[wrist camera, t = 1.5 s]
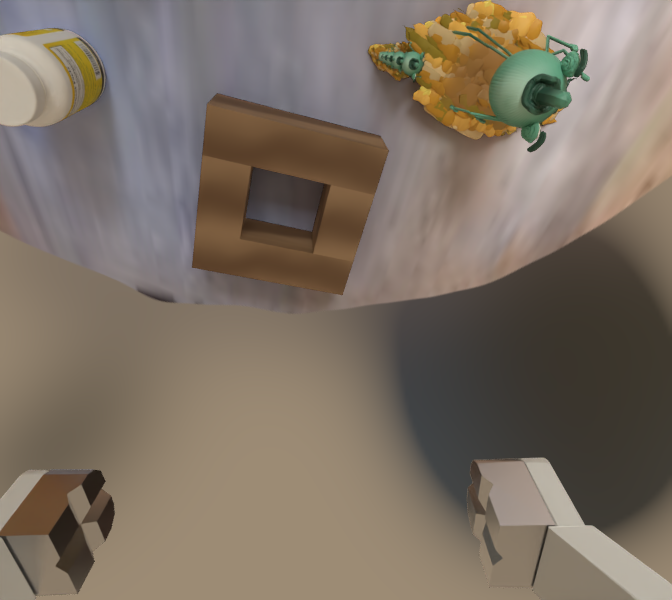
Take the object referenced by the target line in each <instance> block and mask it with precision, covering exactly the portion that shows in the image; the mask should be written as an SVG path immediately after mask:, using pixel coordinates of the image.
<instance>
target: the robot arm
mask: <svg viewBox="0 0 672 600" xmlns="http://www.w3.org/2000/svg"><path fill="white" fill-rule="evenodd" d="M470 475H471V478H472V481H473V484H471V485H470V486H469V487H468V492H467V508H468V516H469V520H470V525H471V529H472V532H473V534H474V536H476V537H477V538H478V539H479V540H480V541H481V546H480V552H479V556H480V559H481V562H482V565H483V569H484V572H485V575H486V579H487V582H488V585H489V587H508V588H511V587H512V588H533V591H534V593H535V594H536V595H537V596H538V597H539V598H540V599H541V600H672V584H671V583H669V582H668V581H667V580H665V579H664V578H663V577H661V576H660V575H659V574H657V573H656V572H655V571H653V570H652V569H650V568H649V567H648V566H646V565H645V564H644V563H642V562H641V561H640V560H638V559H637V558H635V557H634V556H633V555H631V554H630V553H629V552H628V551H626V550H625V549H624V548H622V547H621V546H620V545H618V544H617V543H615V542H614V541H613V540H611V539H610V538H609V537H607V536H606V535H605V534H603V533H602V532H601V531H599V530H598V529H597V528H595V527H594V526H585V525H584V523H583V521H582V519H581V517H580V516H579V514H578V512H577V510H576V509H575V507H574V505H573V503H572V502H571V500H570V498H569V497H568V495H567V493H566V491H565V489H564V487H563V486H562V484H561V482H560V480H559V479H558V477H557V475H556V473H555V472H554V470H553V468H552V466H551V465H550V463H549V461H548V460H546V459H545V458H523V459H518V458H517V459H516V458H515V459H489V460H488V459H487V460H473V461H472V463H471V468H470ZM105 482H106V481H105V479H104V477H103V475H102V472H101V471H100V470H61V469H60V470H58V469H56V470H55V469H54V470H53V469H52V470H28V471H26V472H25V473H23V474H21V475H20V476H19V478H18V479H17V480H16V481H15V482H14V484H13V485H12V486H11V487H10V488H9V490H8V491H7V492H6V493H5V494H4V496H3V497H2V498H1V499H0V600H35V599H36V596H43V595H44V596H45V595H66V594H78V592H79V591H80V589H81V587H82V585H83V583H84V581H85V579H86V577H87V575H88V573H89V572H90V570H91V568H92V566H93V564H94V562H95V561H94V556H93V551H94V550H95V549H97V548H98V547H99V546H100V545H101V544H103V543H104V542H105V541H106V539H107V537H108V534H109V532H110V530H111V528H112V523H113V519H114V515H115V511H114V502H113V500H112V497H111V495H110V494H108V493H107V492H105V491H104V490H103V489H102V487H103V485H104V483H105Z"/></svg>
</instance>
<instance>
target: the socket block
mask: <svg viewBox="0 0 672 600" xmlns="http://www.w3.org/2000/svg"><path fill="white" fill-rule="evenodd" d="M388 152H389V150H388V148H387V147H386V145H385V143H384V141H383V140H382V138H381V136H378V135H375V134H371V133H367V132H363V131H359V130H355V129H352V128H348V127H344V126H340V125H336V124H332V123H329V122H325V121H321V120H317V119H313V118H310V117H306V116H302V115H298V114H294V113H290V112H287V111H283V110H279V109H275V108H271V107H267V106H264V105H260V104H256V103H252V102H248V101H245V100H241V99H237V98H233V97H229V96H225V95H222V94H218V93H217V94H216V95H215V96H214V97H213V98H212V99H211V100H210V101H209V103H208V104H207V110H206V121H205V132H204V143H203V154H202V165H201V176H200V187H199V198H198V209H197V219H196V230H195V241H194V252H193V263H192V268H197V269H203V270H208V271H214V272H219V273H225V274H230V275H235V276H241V277H246V278H252V279H257V280H263V281H268V282H274V283H279V284H285V285H290V286H295V287H301V288H306V289H312V290H317V291H323V292H328V293H334V294H339V295H343V292H344V289H345V286H346V282H347V279H348V276H349V273H350V270H351V267H352V264H353V261H354V257H355V254H356V251H357V248H358V245H359V242H360V239H361V236H362V233H363V229H364V226H365V223H366V220H367V217H368V214H369V211H370V208H371V205H372V201H373V198H374V195H375V192H376V189H377V186H378V183H379V180H380V177H381V173H382V170H383V167H384V164H385V161H386V158H387V155H388ZM253 167H256V168H260V169H265V170H269V171H273V172H277V173H282V174H286V175H290V176H295V177H299V178H303V179H307V180H312V181H316V182H320V183H324V187H323V191H322V195H321V198H320V202H319V206H318V210H317V214H316V218H315V222H314V226H313V230H312V232H311V231H306V230H301V229H296V228H292V227H287V226H282V225H277V224H272V223H268V222H263V221H258V220H253V219H249V218H246V211H247V205H248V199H249V192H250V186H251V180H252V173H253Z"/></svg>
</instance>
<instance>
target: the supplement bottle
mask: <svg viewBox="0 0 672 600" xmlns="http://www.w3.org/2000/svg"><path fill="white" fill-rule="evenodd" d="M105 82H106V76H105V70H104V66H103V63H102V61H101V59H100V57H99V55H98V54H97V52H96V51H95V49H94V48H93V47H92V46H91V45H90V44H89V43H88V42H87V41H86V40H85V39H83V38H82V37H81V36H79V35H77V34H76V33H74V32H71V31H69V30H65V29H60V28H48V29H41V30H33V31H26V32H19V33H12V34H5V35H1V36H0V124H1V125H5V126H21V125H28V126H34V127H44V126H49V125H53V124H55V123H58V122H60V121H61V120H63V119H65V118H67V117H69V116H71V115H73V114H75V113H76V112H78V111H80V110H82V109H84V108H86V107H88V106H89V105H91V104H93V103H94V102H96V101H97V100H98V99H99V97H100V96H101V95H102V93H103V91H104V88H105Z"/></svg>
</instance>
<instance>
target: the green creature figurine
mask: <svg viewBox="0 0 672 600" xmlns="http://www.w3.org/2000/svg"><path fill="white" fill-rule="evenodd" d="M458 9H459V8H458ZM454 11H455V10H454ZM461 11H462V10H461ZM455 12H456V13H455ZM455 12H453V13H451V14H450V16H449V15H447V14H444V15H443V16H442V17H440V16H439V17H437V18H436V20H435V21H428V22H426V23H425V25H423V24H421V23H418V24H416V25H414V27H415V29H413V28H408V27H405V26H404V27H405V28H406V39H407V40H408V41H409V43H408V44H407V43H405V42H402V44H401V43H400V44H399V43H398V42H397V43H396V45H395V44H391V43H390V44H385V45H381V44H375V45H372V46H370V48H369V49H368V52H369V54H371V57H372V60H373V62H374V63H375V64H376V66H377V68H378V69H379V70H380V71H381V70H382V71H383V72H385V71H387V72H388V73H389V74H390V75H391V76H393V77H394V78H395V80H398V81H400V80H401V79H400V78H403V79H404V78H406V77H407V78H409V75H412V76H410V77H412V79H413V80H414V81H415V80H416V81H417V83H418V84H419V85H420V86H421V87H420V90H418V91H416V92H415V93H414V94H413V100H416V101H419V102H420V103H421V104H423V105H424V110H425V111H426V112H427V113H428V114H430V115H432V116H433V117H434V118H435V119H437V121H440V122H441V123H442V124H444V125H445V126H448V127H450V128H454V129H455V130H456V131H458V132H460V133H461V134H463V135H465V136H467V137H469V138H472V139H475V140H477V139H480V138H481V136H482V135H483V134H486V135H487V136H488V137H492V136H494V135H496V136H500V135H501V136H503V135H504V134H505V132H507V134H509V135H510V134H511V133H513V132H515V131H516V128H517V127H519V128H522V130H521V136H522V138H524V139H525V140H526V141H527V142H529V143H532V142H533V141H534V140H535V139H537V138H538V136H539V139H538V140H537V142H536V143H535V144H533V145H532V146H531V147H529V148H528V149H527V151H529V152H533V151H535V150H536V149H538V148H539V147H540V146H541V145H542V144H543V143H544V141H545V139H546V132H544V131H542V132H541V130H540V125H544V124H548V123H549V124H550V123H553V122H556V120H555V119H554V118H555V117H556V115H557V113H558V111H561V110H562V109H563V108H566V107H568V105H569V104H570V102H571V100H572V99H571V95H570V93H569V92H567V87H568V85H569V83H570V81H572V80H573V79H577V78H573V79H571V78H570V79H568V80H567V77H573V76H574V77H579V76H580V75H581V78H582V79H583V80H584V81H586V82H587V81H589V80H590V77H589V76H587V75H586V74H584V73H583V71H584V69H585V67H586V65H587V61H588V53H587V50H585V49H581V50H580V56H579V54H578V53H577V52H578V46H577V45H573V44H568V43H566V42H563V41H561V40H559V39H557V38H554V37H552V36H550V35H547V38H546V37H545V35H544V34H543V33H542V32H541V27H542V21H541V20H539V19H536V16H535V14H534V13H532V12H527V13H518V12H516V11H507V10H505V8H503V7H502V6H501V5H498V4H495V3H492V2H491V0H489V1H484V2H481V1H480V2H477V3H475V5H474V4H473V3H472V4H469V5H468V8H467V13H465V14H466V15H465V14H463V13H460V12H457V11H455ZM550 39H551V40H553V41H556V42H558V43H560V44H562V45H564V46H566V47H569V48H570V49H571V51H572V52H570V53H568V52H567V51H566V50H565V49H562V50H559V51H556V52H554V51H553V50H551V49H550V48H549V40H550ZM562 52H564V54H565V55H566V56H565V57H564V58H563V59H562V61H560V60H559V59H558V58H557V57H556V56H555V55H556V54H559V53H562ZM580 57H581V59H580ZM414 81H413V82H414ZM544 127H545V126H544ZM516 132H517V131H516Z"/></svg>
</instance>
